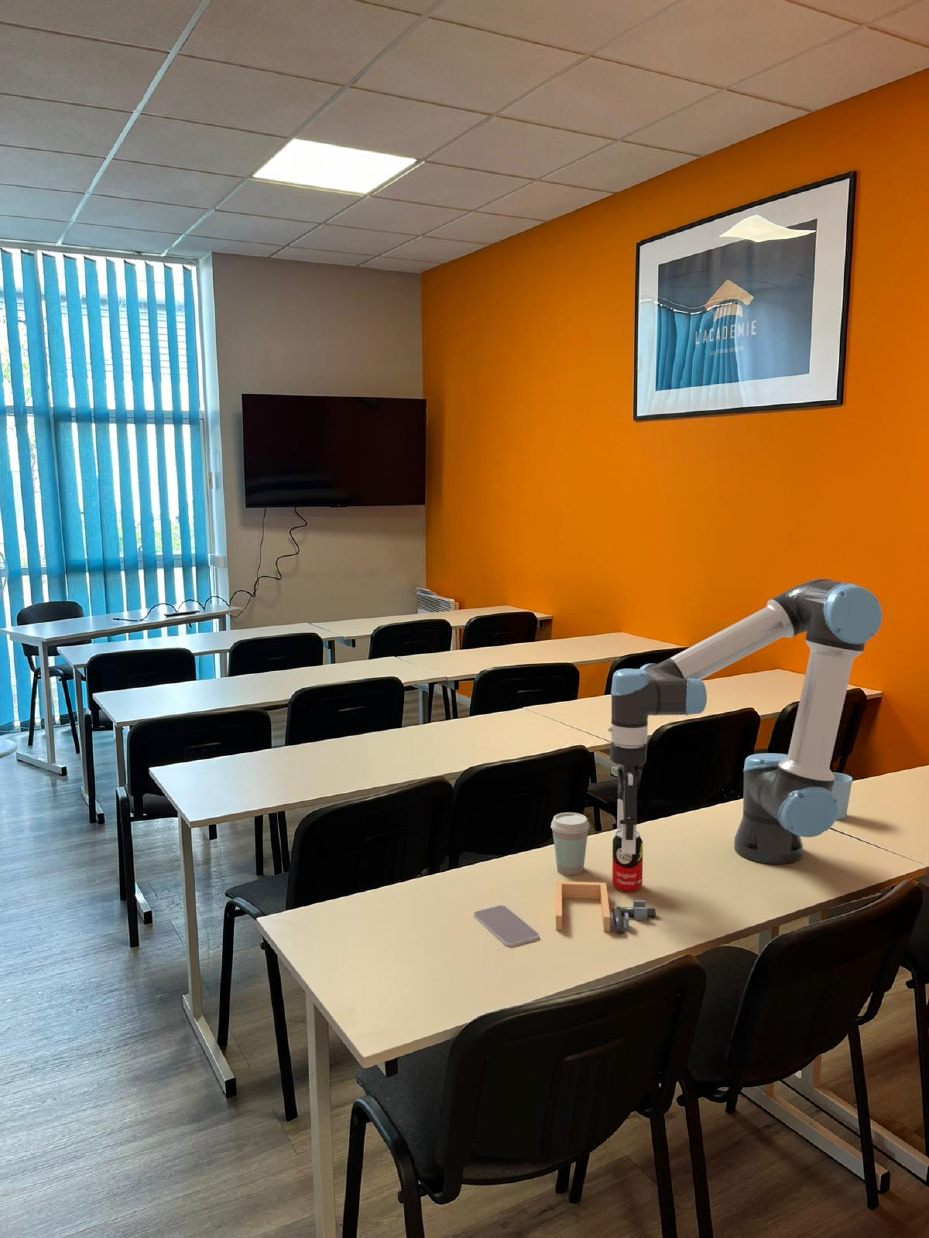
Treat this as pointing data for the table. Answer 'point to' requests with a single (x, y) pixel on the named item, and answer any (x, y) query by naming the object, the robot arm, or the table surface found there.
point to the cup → (842, 793)
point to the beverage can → (627, 864)
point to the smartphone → (506, 925)
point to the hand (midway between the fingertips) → (625, 840)
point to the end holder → (582, 891)
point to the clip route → (637, 911)
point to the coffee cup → (570, 842)
